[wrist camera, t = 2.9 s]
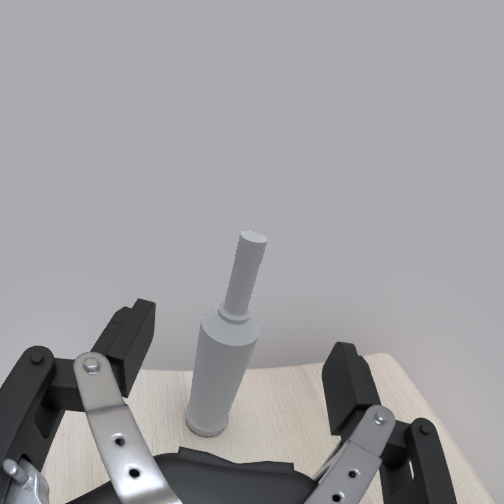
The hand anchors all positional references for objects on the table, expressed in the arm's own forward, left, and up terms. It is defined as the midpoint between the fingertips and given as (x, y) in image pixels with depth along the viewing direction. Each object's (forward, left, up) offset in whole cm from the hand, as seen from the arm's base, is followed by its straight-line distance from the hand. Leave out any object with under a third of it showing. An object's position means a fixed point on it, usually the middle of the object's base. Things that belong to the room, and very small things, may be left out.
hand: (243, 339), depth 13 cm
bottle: (+8, +7, -25) cm, 27 cm away
